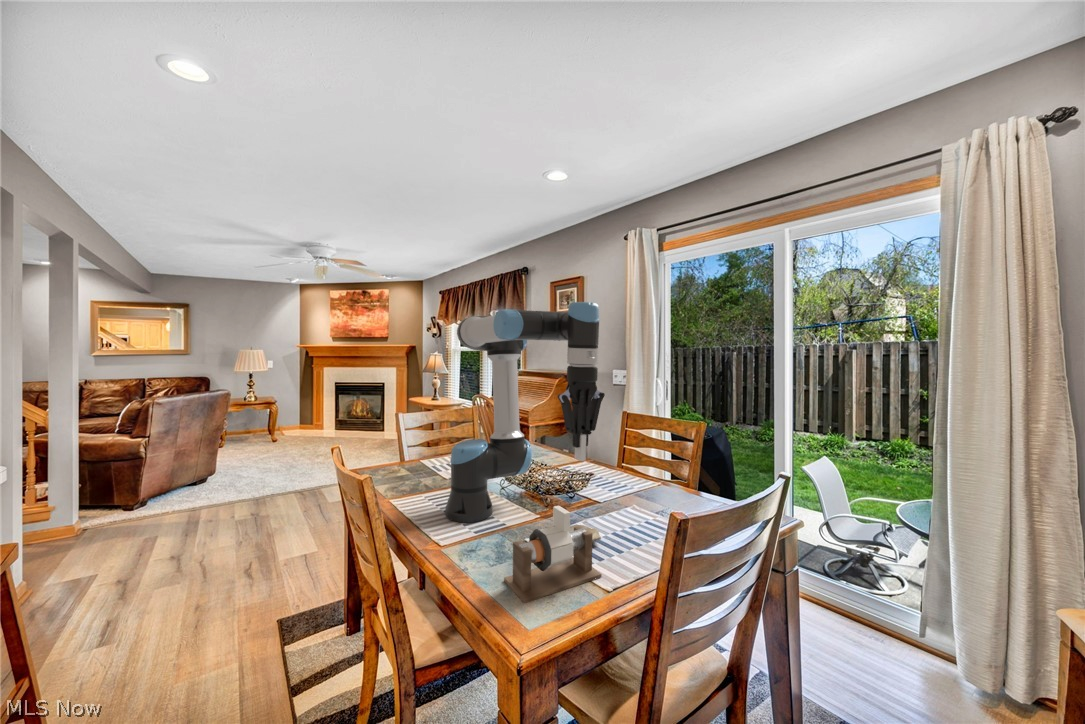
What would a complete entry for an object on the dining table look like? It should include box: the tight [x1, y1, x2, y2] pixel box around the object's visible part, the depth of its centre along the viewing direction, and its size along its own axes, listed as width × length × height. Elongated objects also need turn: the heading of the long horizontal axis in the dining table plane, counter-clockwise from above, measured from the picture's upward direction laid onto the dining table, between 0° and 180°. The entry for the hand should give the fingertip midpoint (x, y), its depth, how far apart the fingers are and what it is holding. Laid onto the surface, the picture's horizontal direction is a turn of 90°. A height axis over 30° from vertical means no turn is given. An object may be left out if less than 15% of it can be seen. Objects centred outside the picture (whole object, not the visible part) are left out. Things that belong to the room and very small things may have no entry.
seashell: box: [569, 524, 602, 543], centre depth 124 cm, size 12×12×3 cm
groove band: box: [528, 539, 545, 564], centre depth 102 cm, size 4×5×5 cm
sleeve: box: [535, 505, 574, 568], centre depth 104 cm, size 6×8×12 cm
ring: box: [528, 528, 551, 571], centre depth 102 cm, size 1×9×9 cm, turn 30°
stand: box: [503, 526, 602, 604], centre depth 104 cm, size 21×10×10 cm, turn 121°
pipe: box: [519, 528, 586, 564], centre depth 104 cm, size 18×4×4 cm, turn 121°
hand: (580, 459), depth 110 cm, fingers closed
